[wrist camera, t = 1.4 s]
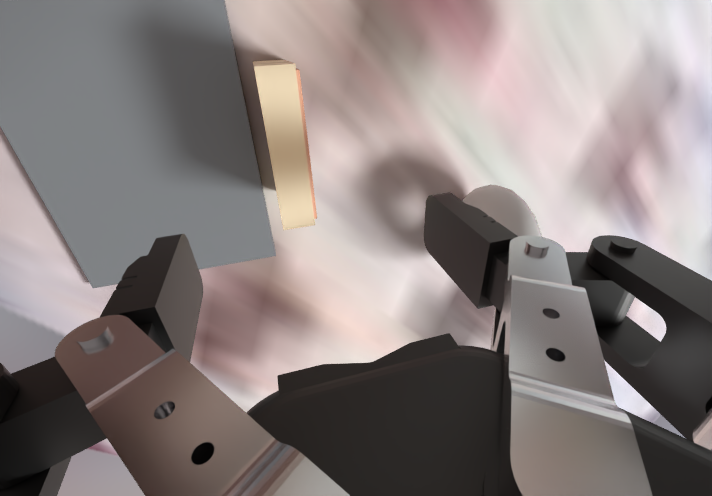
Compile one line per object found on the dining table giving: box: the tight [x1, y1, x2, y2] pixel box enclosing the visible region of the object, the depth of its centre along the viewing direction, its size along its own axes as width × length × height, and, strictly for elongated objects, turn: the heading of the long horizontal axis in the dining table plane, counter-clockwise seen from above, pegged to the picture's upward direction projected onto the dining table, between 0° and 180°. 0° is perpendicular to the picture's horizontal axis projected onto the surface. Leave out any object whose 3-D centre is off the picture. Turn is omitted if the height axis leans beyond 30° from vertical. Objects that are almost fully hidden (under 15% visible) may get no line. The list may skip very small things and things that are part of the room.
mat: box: [0, 0, 276, 288], centre depth 23 cm, size 18×14×1 cm
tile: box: [253, 60, 317, 230], centre depth 22 cm, size 9×2×7 cm, turn 2°
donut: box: [462, 185, 542, 237], centre depth 29 cm, size 10×4×10 cm, turn 3°
